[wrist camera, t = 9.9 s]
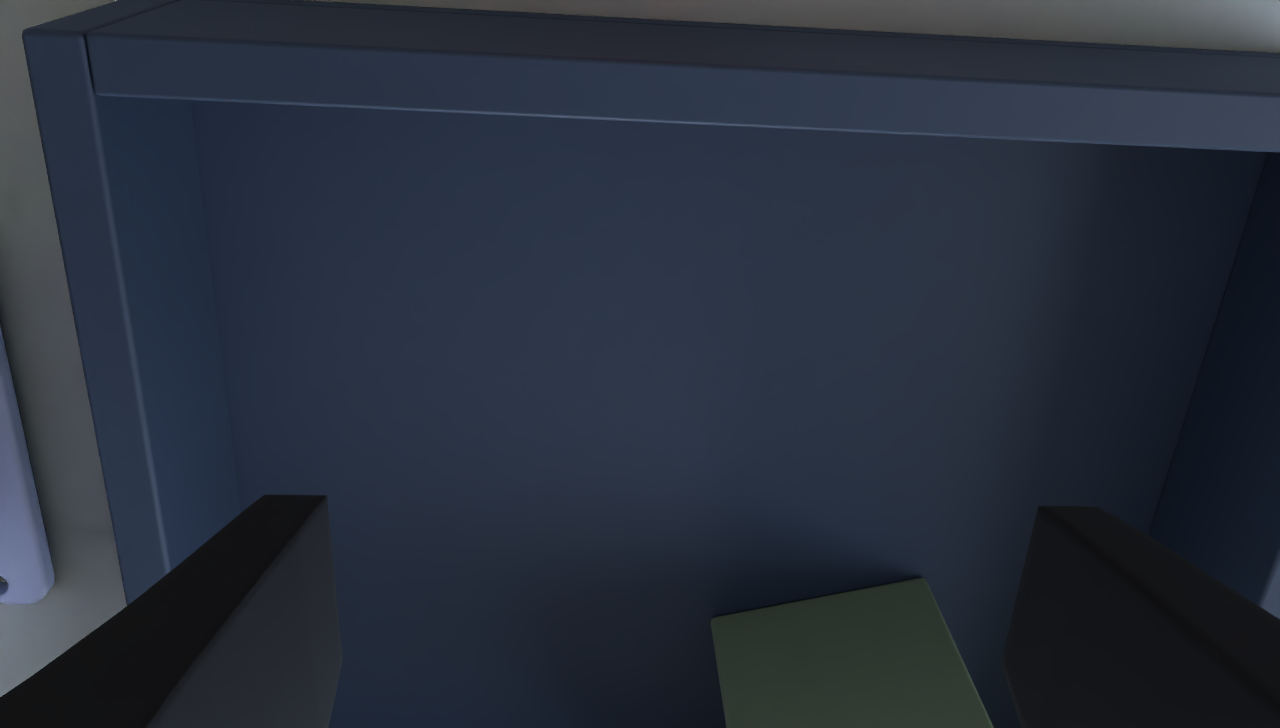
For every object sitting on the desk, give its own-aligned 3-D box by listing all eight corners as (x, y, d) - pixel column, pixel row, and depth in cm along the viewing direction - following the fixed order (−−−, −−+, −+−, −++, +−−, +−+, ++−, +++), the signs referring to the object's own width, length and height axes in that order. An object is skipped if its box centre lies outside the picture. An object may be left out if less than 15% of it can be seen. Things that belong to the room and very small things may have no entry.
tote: (251, 794, 25) (190, 961, 21) (142, -9, 17) (16, 28, 13) (1080, 804, 26) (1161, 963, 22) (1320, 55, 18) (1506, 105, 14)
